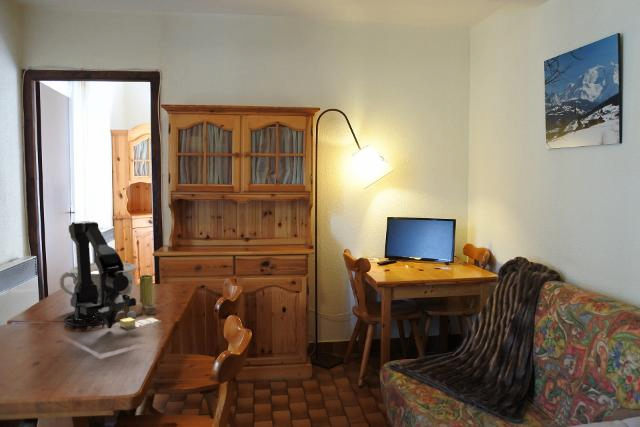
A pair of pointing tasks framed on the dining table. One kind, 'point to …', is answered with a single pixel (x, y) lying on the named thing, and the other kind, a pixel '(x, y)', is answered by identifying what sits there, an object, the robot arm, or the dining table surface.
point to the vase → (146, 290)
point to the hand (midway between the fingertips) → (109, 328)
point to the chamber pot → (96, 278)
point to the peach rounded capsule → (136, 308)
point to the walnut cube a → (120, 315)
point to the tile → (127, 323)
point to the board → (143, 322)
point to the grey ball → (131, 314)
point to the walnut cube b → (149, 309)
